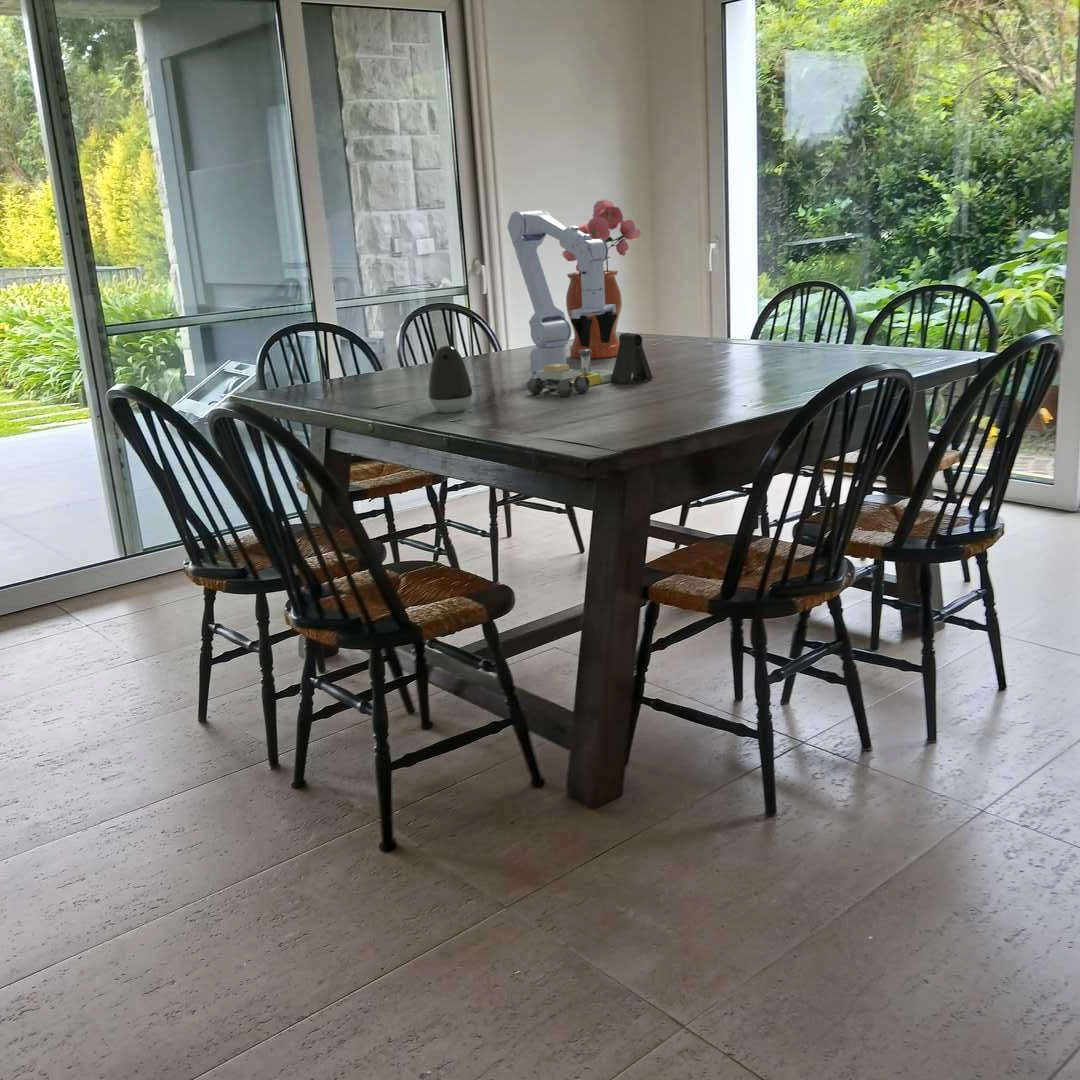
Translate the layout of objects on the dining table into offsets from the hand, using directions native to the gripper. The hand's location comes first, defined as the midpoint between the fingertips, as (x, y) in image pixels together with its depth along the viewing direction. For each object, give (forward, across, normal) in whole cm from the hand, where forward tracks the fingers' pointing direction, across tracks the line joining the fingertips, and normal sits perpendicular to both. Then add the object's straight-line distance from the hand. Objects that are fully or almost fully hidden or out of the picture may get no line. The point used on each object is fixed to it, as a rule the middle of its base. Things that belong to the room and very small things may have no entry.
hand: (595, 344), depth 281 cm
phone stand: (+10, +8, -5) cm, 14 cm away
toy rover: (+10, -14, 0) cm, 17 cm away
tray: (+10, +6, +4) cm, 12 cm away
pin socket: (+10, -1, +3) cm, 11 cm away
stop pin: (+10, -1, +3) cm, 11 cm away
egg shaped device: (+10, -43, +8) cm, 45 cm away
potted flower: (+11, +44, +36) cm, 57 cm away
